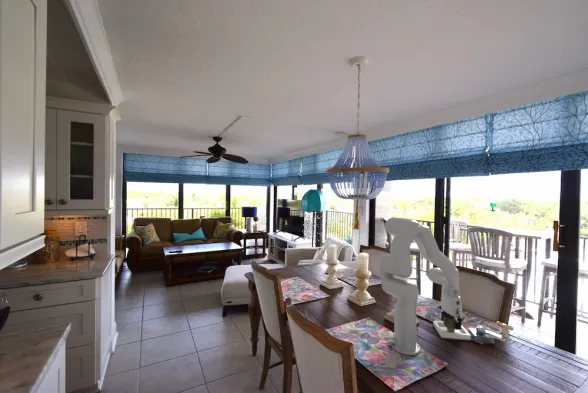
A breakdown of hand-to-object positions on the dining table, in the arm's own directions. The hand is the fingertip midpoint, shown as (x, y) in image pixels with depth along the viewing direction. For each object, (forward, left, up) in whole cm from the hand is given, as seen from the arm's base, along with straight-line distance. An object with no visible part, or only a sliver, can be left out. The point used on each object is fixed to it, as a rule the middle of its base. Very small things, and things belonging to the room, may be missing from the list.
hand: (450, 324), depth 137 cm
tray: (0, 0, -4) cm, 4 cm away
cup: (0, 0, -4) cm, 4 cm away
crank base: (+12, -4, -4) cm, 13 cm away
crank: (+16, -8, 0) cm, 18 cm away
